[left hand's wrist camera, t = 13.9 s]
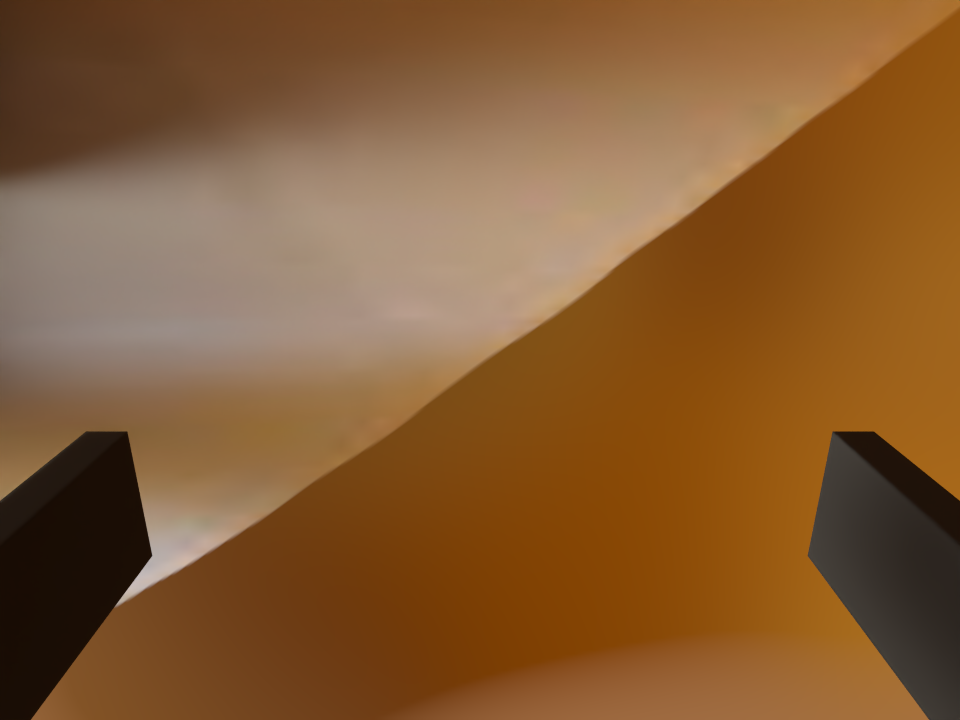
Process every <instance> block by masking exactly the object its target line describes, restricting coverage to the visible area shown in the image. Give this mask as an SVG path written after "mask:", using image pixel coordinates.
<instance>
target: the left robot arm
mask: <svg viewBox="0 0 960 720" xmlns="http://www.w3.org/2000/svg"><path fill="white" fill-rule="evenodd" d="M151 557H152V552H151V547H150V542H149V537H148V532H147V527H146V522H145V517H144V512H143V507H142V502H141V497H140V492H139V487H138V482H137V477H136V472H135V467H134V462H133V457H132V452H131V448H130V443H129V438H128V433H127V432H85V433H84V434H83V435H81V436H80V437H79V438H78V439H76V440H75V441H74V442H73V443H71V444H70V445H69V446H68V447H66V448H65V449H64V450H63V451H61V452H60V453H59V454H58V455H57V456H55V457H54V458H53V459H52V460H50V461H49V462H48V463H47V464H45V465H44V466H43V467H42V468H40V469H39V470H38V471H37V472H35V473H34V474H33V475H32V476H31V477H29V478H28V479H27V480H26V481H24V482H23V483H22V484H21V485H19V486H18V487H17V488H16V489H14V490H13V491H12V492H11V493H9V494H8V495H7V496H6V497H5V498H3V499H2V500H1V501H0V720H31V719H32V717H33V716H34V715H35V713H36V712H37V711H38V709H39V708H40V706H41V705H42V704H43V702H44V701H45V700H46V698H47V697H48V696H49V694H50V693H51V692H52V690H53V689H54V688H55V686H56V685H57V684H58V682H59V681H60V680H61V678H62V677H63V676H64V674H65V673H66V671H67V670H68V669H69V667H70V666H71V665H72V663H73V662H74V661H75V659H76V658H77V657H78V655H79V654H80V653H81V651H82V650H83V649H84V647H85V646H86V644H87V643H88V642H89V640H90V639H91V638H92V636H93V635H94V634H95V632H96V631H97V630H98V628H99V627H100V626H101V624H102V623H103V622H104V620H105V619H106V617H107V616H108V615H109V613H110V612H111V611H112V609H113V608H114V607H115V605H116V604H117V603H118V601H119V600H120V599H121V597H122V596H123V595H124V593H125V592H126V591H127V589H128V588H129V586H130V585H131V584H132V582H133V581H134V580H135V578H136V577H137V576H138V574H139V573H140V572H141V570H142V569H143V568H144V566H145V565H146V564H147V562H148V561H149V559H150V558H151ZM808 557H809V558H810V559H811V561H812V562H813V563H814V565H815V566H816V568H817V569H818V570H819V572H820V573H821V574H822V576H823V577H824V578H825V580H826V581H827V582H828V584H829V585H830V586H831V588H832V589H833V590H834V592H835V593H836V595H837V596H838V597H839V599H840V600H841V601H842V603H843V604H844V605H845V607H846V608H847V609H848V611H849V612H850V613H851V615H852V616H853V617H854V619H855V620H856V622H857V623H858V624H859V625H860V627H861V628H862V630H863V631H864V632H865V633H866V635H867V636H868V638H869V639H870V640H871V642H872V643H873V644H874V646H875V647H876V648H877V650H878V651H879V653H880V654H881V655H882V656H883V658H884V659H885V661H886V662H887V663H888V665H889V666H890V667H891V669H892V670H893V671H894V673H895V674H896V676H897V677H898V678H899V680H900V681H901V682H902V684H903V685H904V686H905V688H906V689H907V690H908V692H909V693H910V694H911V696H912V697H913V698H914V700H915V701H916V702H917V704H918V705H919V707H920V708H921V709H922V711H923V712H924V713H925V715H926V716H927V717H928V719H929V720H960V501H959V500H958V499H957V498H955V497H954V496H953V495H952V494H951V493H949V492H948V491H947V490H946V489H944V488H943V487H942V486H941V485H939V484H938V483H937V482H936V481H934V480H933V479H932V478H931V477H929V476H928V475H927V474H926V473H925V472H923V471H922V470H921V469H920V468H918V467H917V466H916V465H915V464H913V463H912V462H911V461H910V460H908V459H907V458H906V457H905V456H903V455H902V454H901V453H900V452H899V451H897V450H896V449H895V448H894V447H892V446H891V445H890V444H889V443H887V442H886V441H885V440H884V439H882V438H881V437H880V436H879V435H877V434H876V433H875V432H833V433H832V438H831V443H830V448H829V453H828V457H827V462H826V467H825V473H824V477H823V482H822V488H821V492H820V498H819V502H818V507H817V512H816V517H815V522H814V527H813V532H812V537H811V542H810V547H809V552H808Z"/></svg>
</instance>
